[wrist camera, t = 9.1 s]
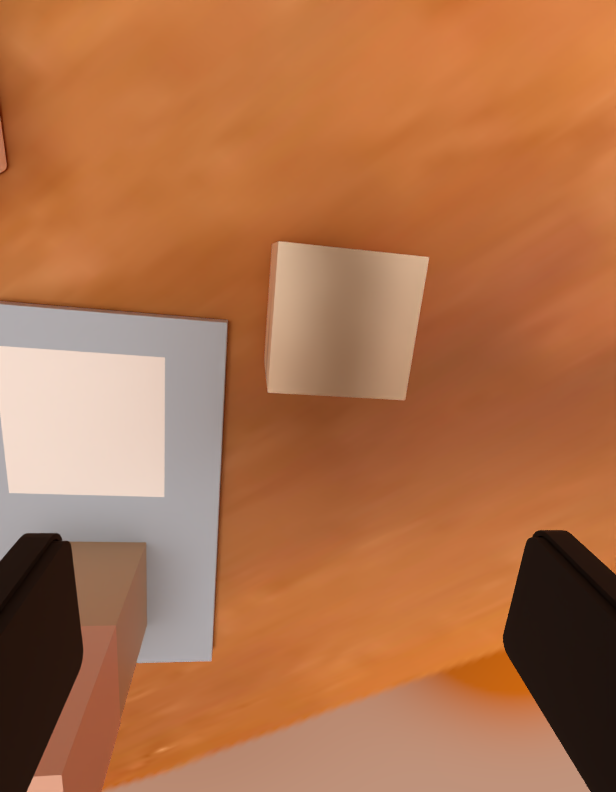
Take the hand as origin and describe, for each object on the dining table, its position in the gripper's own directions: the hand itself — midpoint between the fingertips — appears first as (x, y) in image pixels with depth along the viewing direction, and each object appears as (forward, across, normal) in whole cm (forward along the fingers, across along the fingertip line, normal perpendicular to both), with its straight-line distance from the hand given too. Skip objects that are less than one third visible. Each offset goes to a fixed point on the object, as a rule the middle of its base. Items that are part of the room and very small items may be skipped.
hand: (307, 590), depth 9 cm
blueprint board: (+16, +10, +8) cm, 20 cm away
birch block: (+16, -2, -4) cm, 17 cm away
